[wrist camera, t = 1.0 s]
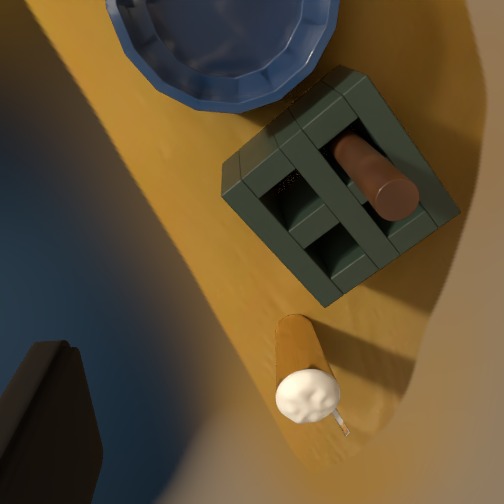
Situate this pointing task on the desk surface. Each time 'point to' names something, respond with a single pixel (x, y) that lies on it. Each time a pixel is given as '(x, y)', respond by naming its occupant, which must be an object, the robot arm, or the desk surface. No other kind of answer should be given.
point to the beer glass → (304, 374)
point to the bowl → (224, 47)
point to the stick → (375, 176)
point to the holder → (330, 188)
